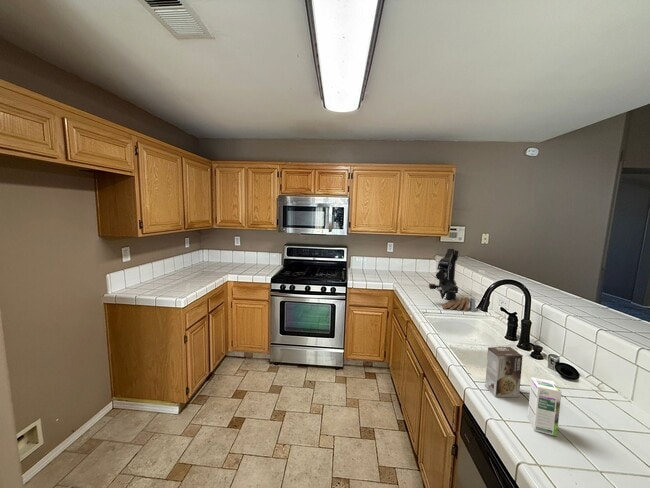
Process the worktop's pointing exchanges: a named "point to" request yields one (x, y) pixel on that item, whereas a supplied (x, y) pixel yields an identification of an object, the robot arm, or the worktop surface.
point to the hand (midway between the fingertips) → (442, 298)
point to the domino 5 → (472, 304)
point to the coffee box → (503, 371)
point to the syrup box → (544, 406)
